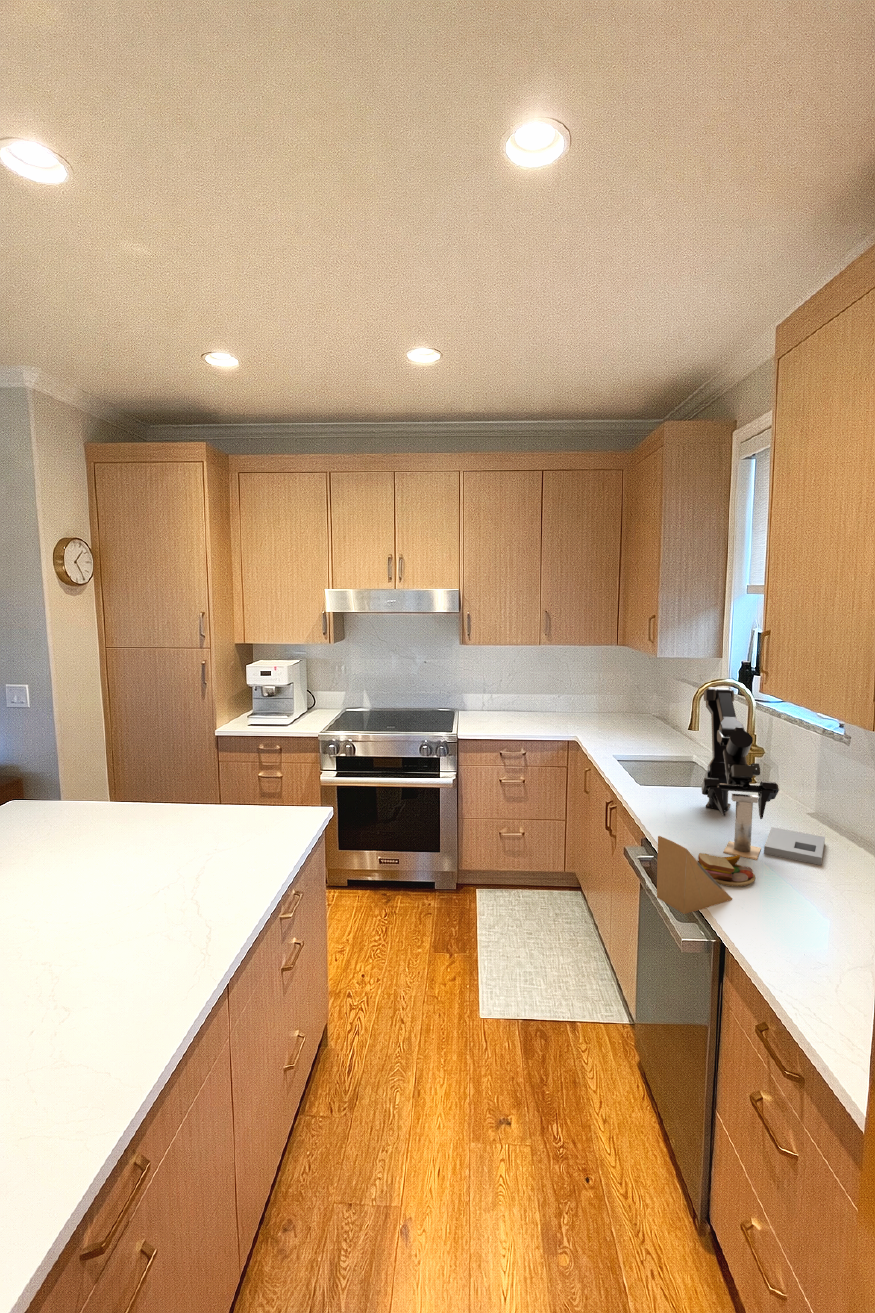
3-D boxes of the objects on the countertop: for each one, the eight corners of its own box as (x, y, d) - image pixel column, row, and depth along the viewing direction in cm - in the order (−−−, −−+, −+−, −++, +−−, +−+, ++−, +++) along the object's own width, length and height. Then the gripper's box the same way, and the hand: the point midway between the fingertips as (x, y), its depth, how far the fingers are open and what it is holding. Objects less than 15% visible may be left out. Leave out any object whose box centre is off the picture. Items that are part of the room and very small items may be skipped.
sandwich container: (735, 900, 139) (737, 837, 137) (684, 915, 133) (687, 849, 131) (704, 884, 147) (707, 824, 145) (655, 897, 140) (657, 835, 139)
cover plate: (771, 833, 176) (771, 827, 176) (824, 843, 168) (824, 836, 168) (763, 853, 163) (764, 846, 163) (821, 865, 155) (821, 857, 155)
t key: (728, 845, 167) (730, 792, 166) (752, 847, 166) (755, 794, 164) (731, 851, 163) (734, 797, 162) (756, 853, 162) (758, 798, 160)
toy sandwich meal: (760, 891, 143) (761, 872, 142) (698, 885, 146) (699, 866, 146) (748, 868, 155) (749, 850, 154) (691, 862, 158) (692, 845, 158)
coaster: (728, 842, 170) (728, 841, 170) (761, 849, 165) (761, 847, 165) (723, 852, 163) (723, 851, 163) (756, 859, 159) (756, 858, 159)
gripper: (704, 749, 170) (710, 801, 161) (778, 753, 165) (788, 807, 156) (699, 768, 179) (704, 819, 169) (769, 772, 174) (778, 824, 164)
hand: (742, 817), depth 165 cm, fingers open, 9 cm apart
